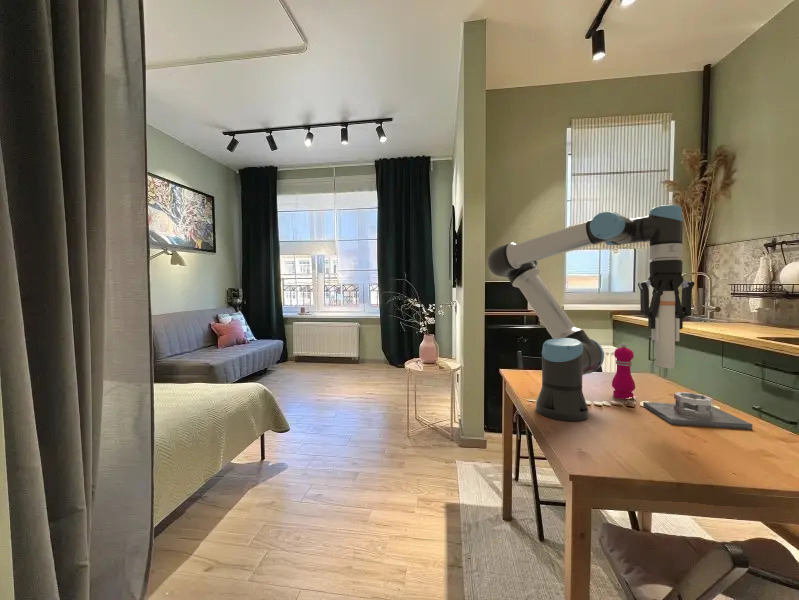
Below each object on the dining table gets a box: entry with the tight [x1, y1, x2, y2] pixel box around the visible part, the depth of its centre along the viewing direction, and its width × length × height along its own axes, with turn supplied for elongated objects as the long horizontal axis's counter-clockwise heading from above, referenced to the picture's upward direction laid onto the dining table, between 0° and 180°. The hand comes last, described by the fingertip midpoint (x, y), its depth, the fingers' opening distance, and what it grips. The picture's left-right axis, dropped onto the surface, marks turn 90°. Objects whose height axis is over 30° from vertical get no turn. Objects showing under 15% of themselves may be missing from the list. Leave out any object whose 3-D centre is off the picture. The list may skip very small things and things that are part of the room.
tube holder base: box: [642, 391, 753, 430], centre depth 104 cm, size 20×16×6 cm
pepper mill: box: [611, 343, 636, 400], centre depth 124 cm, size 7×7×20 cm
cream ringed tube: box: [654, 291, 676, 369], centre depth 98 cm, size 4×4×22 cm
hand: (665, 340), depth 98 cm, fingers closed on cream ringed tube, 4 cm apart
